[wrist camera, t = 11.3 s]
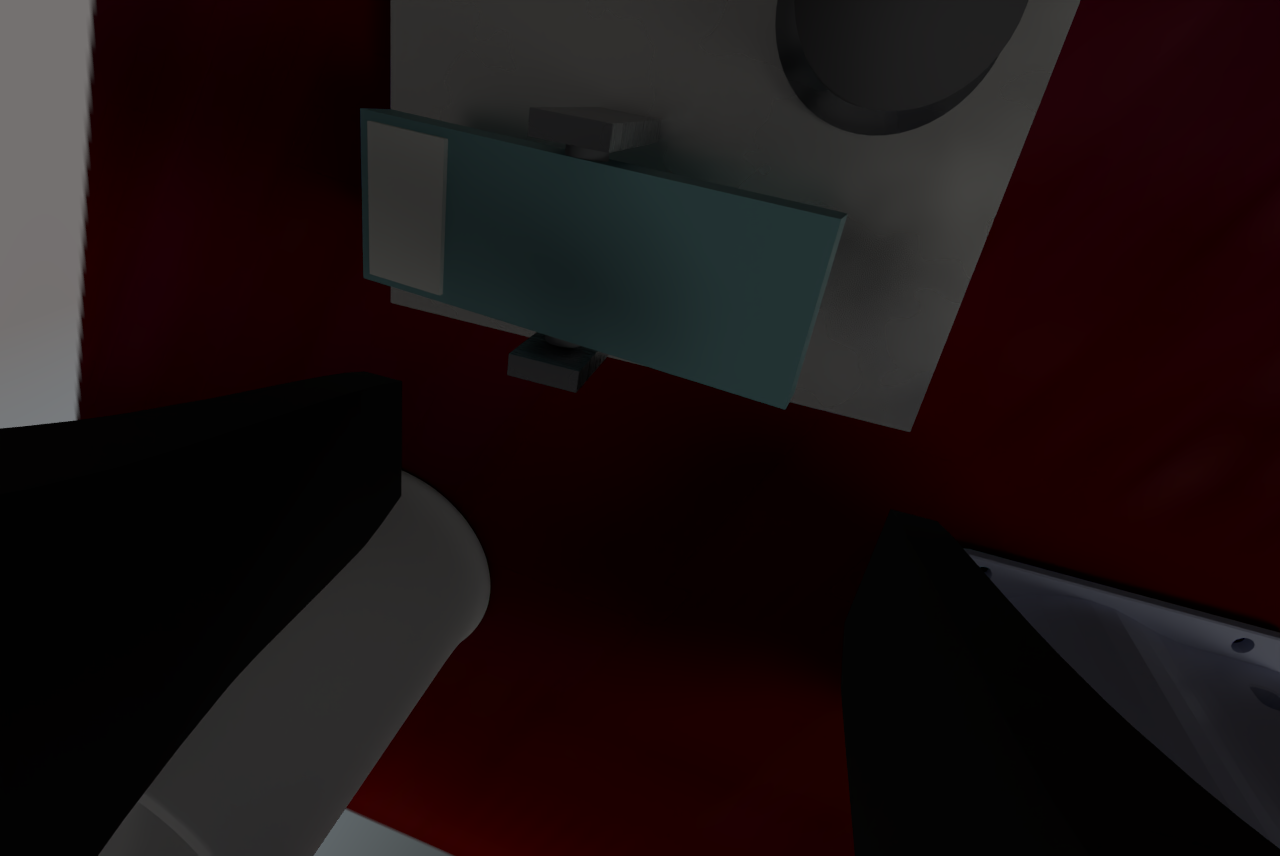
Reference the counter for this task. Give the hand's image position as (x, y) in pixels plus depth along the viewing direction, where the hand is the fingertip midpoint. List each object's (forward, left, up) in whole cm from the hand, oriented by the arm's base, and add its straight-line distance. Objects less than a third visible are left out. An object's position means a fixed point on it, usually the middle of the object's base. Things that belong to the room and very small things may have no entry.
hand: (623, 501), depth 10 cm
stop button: (-2, -7, -7) cm, 11 cm away
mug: (+12, +12, -11) cm, 20 cm away
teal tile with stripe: (+3, -2, -6) cm, 7 cm away
